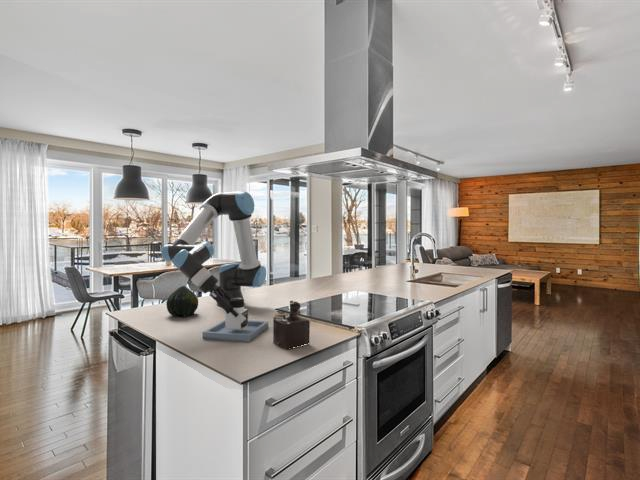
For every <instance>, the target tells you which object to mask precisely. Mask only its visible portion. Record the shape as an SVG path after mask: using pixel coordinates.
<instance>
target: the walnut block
mask: <svg viewBox="0 0 640 480" xmlns="http://www.w3.org/2000/svg"><path fill="white" fill-rule="evenodd" d="M287 314H288V313H275V314H274V315H273V317H272V318H273V319H275V318H281V317H283V315H284V316H285V315H287Z"/></svg>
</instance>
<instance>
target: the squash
mask: <svg viewBox="0 0 640 480" xmlns="http://www.w3.org/2000/svg"><path fill="white" fill-rule="evenodd" d="M165 305H166V309H167V312H168V313H169V314H170V316H173V317H174V316H175V317H177V316H181V315H182V316H183V317H185V318H186V317H188V316H191V315H194V313H196V310H198V307H199V299H198V297H197V295H196V293H194V292H193V291H192V290H191V289H189V288H188V287H187V286H185V285H182V286H179V287H178V288H176V289H175V290H173V292H172V293H171V294H170V295H169V296H168V298H167V300H166V304H165Z"/></svg>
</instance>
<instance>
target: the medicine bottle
mask: <svg viewBox="0 0 640 480" xmlns="http://www.w3.org/2000/svg"><path fill="white" fill-rule="evenodd" d="M229 303H230V304H231V305H232V307H233V308H234V307H235V308H236V309H237V310H238V311H239V312H240V313H241V314H242V315H243V316H244V317H245V318H246V319H245V320H244V321H243V322H242V323H240V322H239V321H238V320H237V319H236V318H235V317H234V316H232V315H231V314H230V313H229V314H227V312H226V311H225V312H224V317H225V318H224V320H225V329H236V330H242V329H243V328H244V327H246V326H247V325H248V321H249V309H248V308H245V299H244V300H243V299H242V298H233V299H230V300H229ZM243 308H244V309H243Z"/></svg>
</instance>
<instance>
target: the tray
mask: <svg viewBox="0 0 640 480" xmlns="http://www.w3.org/2000/svg"><path fill="white" fill-rule="evenodd" d="M268 328H269V321H257V320H248V325H247V326H246V327H244V328H243V329H242V330H236V329H225V319H224V320H223V321H220V322H218V323H217V324H215V325H213V326H210V327H209V328H208V329H206V330H204V331H202V339H205V340H217V341H219V340H220V341H231V342H232V341H233V342H244V343H246V342H247V343H250V342H252V341H253V340H254V339H256V338H257V337H258V336H260V335H261V334H262V333H264V331H265V332H266V330H267V329H268Z"/></svg>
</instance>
